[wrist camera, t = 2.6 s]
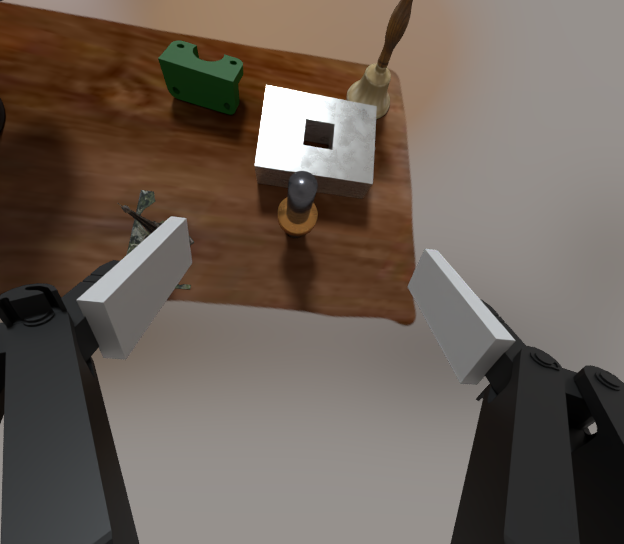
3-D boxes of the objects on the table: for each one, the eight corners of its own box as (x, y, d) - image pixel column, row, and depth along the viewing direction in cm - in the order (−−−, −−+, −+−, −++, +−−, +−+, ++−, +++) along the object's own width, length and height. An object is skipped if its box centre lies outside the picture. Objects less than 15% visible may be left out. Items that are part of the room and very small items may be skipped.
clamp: (237, 111, 49) (254, 68, 42) (227, 131, 47) (243, 89, 40) (172, 65, 44) (179, 8, 37) (156, 85, 42) (160, 27, 34)
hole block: (257, 183, 43) (254, 165, 38) (267, 110, 45) (266, 85, 40) (362, 198, 44) (372, 184, 40) (366, 128, 47) (376, 106, 42)
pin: (275, 243, 41) (274, 204, 27) (279, 210, 42) (280, 157, 28) (310, 247, 42) (326, 211, 28) (313, 215, 43) (330, 165, 29)
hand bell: (339, 106, 47) (369, 1, 32) (357, 74, 49) (394, -40, 33) (378, 127, 48) (427, 34, 32) (395, 95, 49) (449, -8, 34)
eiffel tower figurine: (141, 190, 40) (77, 129, 27) (208, 198, 42) (176, 144, 29) (122, 284, 38) (39, 266, 25) (193, 290, 39) (151, 276, 26)
